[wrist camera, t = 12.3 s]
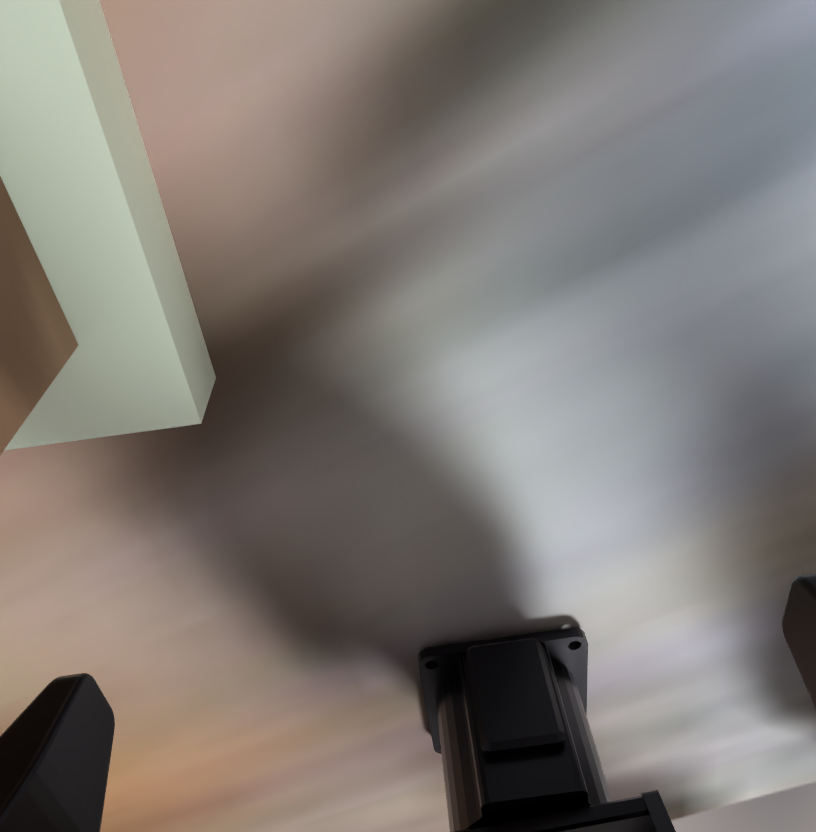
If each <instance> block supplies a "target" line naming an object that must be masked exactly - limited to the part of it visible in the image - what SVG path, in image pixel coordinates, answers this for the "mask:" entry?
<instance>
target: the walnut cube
mask: <svg viewBox="0 0 816 832" xmlns="http://www.w3.org/2000/svg"><path fill="white" fill-rule="evenodd" d="M77 347H78V343H77V341H76V338H75V336H74V334H73V332H72V330H71V328H70V325H69V323H68V321H67V319H66V317H65V315H64V312H63V310H62V308H61V306H60V304H59V302H58V300H57V297H56V295H55V293H54V291H53V289H52V287H51V284H50V282H49V280H48V278H47V276H46V274H45V271H44V269H43V267H42V265H41V263H40V261H39V258H38V256H37V254H36V252H35V250H34V248H33V245H32V243H31V241H30V239H29V237H28V235H27V233H26V230H25V228H24V226H23V224H22V222H21V220H20V217H19V215H18V213H17V211H16V209H15V207H14V204H13V202H12V200H11V198H10V196H9V194H8V191H7V189H6V187H5V185H4V183H3V181H2V178H1V176H0V455H1V454H2V452H3V451H4V449H5V448H6V447H7V445H8V444H9V442H10V441H11V440H12V438H13V437H14V435H15V434H16V433H17V431H18V430H19V428H20V427H21V425H22V424H23V423H24V421H25V420H26V418H27V417H28V416H29V414H30V413H31V411H32V410H33V409H34V407H35V406H36V404H37V403H38V402H39V400H40V399H41V397H42V396H43V395H44V393H45V392H46V390H47V389H48V388H49V386H50V385H51V383H52V382H53V381H54V379H55V378H56V376H57V375H58V373H59V372H60V371H61V369H62V368H63V366H64V365H65V364H66V362H67V361H68V359H69V358H70V357H71V355H72V354H73V352H74V351H75V350H76V348H77Z"/></svg>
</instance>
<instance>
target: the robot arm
mask: <svg viewBox="0 0 816 832" xmlns="http://www.w3.org/2000/svg"><path fill="white" fill-rule="evenodd" d="M782 627H783V632H784V636H785V638H786V641H787V643H788V646H789V648H790V650H791V653H792V655H793V657H794V660H795V662H796V664H797V667H798V669H799V671H800V673H801V676H802V678H803V680H804V683H805V685H806V687H807V690H808V692H809V694H810V697H811V699H812V701H813V704H814V706H815V708H816V574H809V575H802V576H798V577H796V578H795V579H794V580H793V581H792V583H791V586H790V590H789V594H788V598H787V602H786V606H785V610H784V614H783V619H782ZM587 660H588V643H587V639H586V636H585V634H584V632H583V631H582V630H580V629H577V628H572V629H565V630H557V631H550V632H542V633H535V634H528V635H520V636H513V637H506V638H498V639H491V640H484V641H476V642H469V643H461V644H454V645H447V646H439V647H432V648H427V649H424V650H422V651H421V652H420V653H419V655H418V663H419V670H420V676H421V681H422V687H423V692H424V697H425V703H426V708H427V714H428V719H429V724H430V730H431V735H432V741H433V746H434V750H435V751H436V752H437V753H440V754H442V762H443V772H444V781H445V790H446V799H447V808H448V817H449V826H450V832H676V831H675V829H674V827H673V825H672V822H671V820H670V818H669V815H668V813H667V811H666V808H665V806H664V804H663V801H662V799H661V797H660V794H659V792H658V790H652V791H647V792H642V793H641V796H638V797H632V798H627V799H622V800H617V801H612V798H611V795H610V792H609V788H608V785H607V782H606V779H605V775H604V772H603V769H602V766H601V762H600V759H599V756H598V752H597V749H596V746H595V743H594V739H593V736H592V733H591V730H590V726H589V723H588V720H587V716H586V707H587ZM114 727H115V721H114V715H113V711H112V709H111V707H110V705H109V703H108V702H107V700H106V698H105V697H104V695H103V693H102V692H101V690H100V688H99V686H98V685H97V683H96V681H95V680H94V678H93V677H92V676H91V675H89V674H87V673H82V674H74V675H67V676H61V677H58V678H56V679H54V680H53V681H52V682H50V683H49V684H48V685H47V686H46V687H45V689H44V690H43V691H42V692H41V693H40V694H39V695H38V696H37V697H36V698H35V699H34V700H33V701H32V703H31V704H30V705H29V706H28V707H27V708H26V709H25V710H24V711H23V712H22V713H21V714H20V716H19V717H18V718H17V719H16V720H15V721H14V722H13V723H12V724H11V725H10V726H9V727H8V728H7V730H6V731H5V732H4V733H3V734H2V735H1V736H0V832H100V828H101V821H102V814H103V807H104V800H105V793H106V785H107V778H108V771H109V764H110V757H111V750H112V743H113V735H114Z"/></svg>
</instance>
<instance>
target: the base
mask: <svg viewBox="0 0 816 832" xmlns="http://www.w3.org/2000/svg"><path fill="white" fill-rule="evenodd" d="M0 176H1V178H2V181H3V183H4V185H5V187H6V189H7V191H8V194H9V196H10V198H11V200H12V202H13V204H14V207H15V209H16V211H17V213H18V215H19V217H20V220H21V222H22V224H23V226H24V228H25V230H26V233H27V235H28V237H29V239H30V241H31V243H32V245H33V248H34V250H35V252H36V254H37V256H38V258H39V261H40V263H41V265H42V267H43V269H44V271H45V274H46V276H47V278H48V280H49V282H50V284H51V287H52V289H53V291H54V293H55V295H56V297H57V300H58V302H59V304H60V306H61V308H62V310H63V312H64V315H65V317H66V319H67V321H68V323H69V325H70V328H71V330H72V332H73V334H74V336H75V338H76V341H77V343H78V347H77V348H76V350H75V351H74V352H73V354H72V355H71V357H70V358H69V359H68V361H67V362H66V364H65V365H64V366H63V368H62V369H61V371H60V372H59V373H58V375H57V376H56V378H55V379H54V381H53V382H52V383H51V385H50V386H49V388H48V389H47V390H46V392H45V393H44V395H43V396H42V397H41V399H40V400H39V402H38V403H37V404H36V406H35V407H34V409H33V410H32V411H31V413H30V414H29V416H28V417H27V418H26V420H25V421H24V423H23V424H22V425H21V427H20V428H19V430H18V431H17V433H16V434H15V435H14V437H13V438H12V440H11V441H10V442H9V444H8V445H7V447H6V448H5V449H4V450H11V449H19V448H26V447H33V446H41V445H48V444H56V443H63V442H70V441H78V440H85V439H92V438H100V437H107V436H114V435H122V434H129V433H137V432H144V431H151V430H159V429H166V428H173V427H181V426H188V425H195V424H201V423H202V420H203V417H204V414H205V410H206V407H207V404H208V401H209V398H210V395H211V392H212V389H213V386H214V382H215V379H216V376H215V373H214V370H213V367H212V363H211V360H210V357H209V354H208V350H207V347H206V344H205V341H204V337H203V334H202V331H201V328H200V324H199V321H198V318H197V315H196V311H195V308H194V305H193V302H192V298H191V295H190V292H189V289H188V286H187V282H186V279H185V276H184V273H183V269H182V266H181V263H180V260H179V256H178V253H177V250H176V247H175V243H174V240H173V237H172V234H171V230H170V227H169V224H168V221H167V217H166V214H165V211H164V208H163V204H162V201H161V198H160V195H159V191H158V188H157V185H156V182H155V178H154V175H153V172H152V169H151V165H150V162H149V159H148V156H147V152H146V149H145V146H144V143H143V140H142V136H141V133H140V130H139V127H138V123H137V120H136V117H135V114H134V110H133V107H132V104H131V101H130V97H129V94H128V91H127V88H126V84H125V81H124V78H123V75H122V71H121V68H120V65H119V62H118V58H117V55H116V52H115V49H114V45H113V42H112V39H111V36H110V32H109V29H108V26H107V23H106V19H105V16H104V13H103V10H102V7H101V3H100V0H0Z"/></svg>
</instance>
